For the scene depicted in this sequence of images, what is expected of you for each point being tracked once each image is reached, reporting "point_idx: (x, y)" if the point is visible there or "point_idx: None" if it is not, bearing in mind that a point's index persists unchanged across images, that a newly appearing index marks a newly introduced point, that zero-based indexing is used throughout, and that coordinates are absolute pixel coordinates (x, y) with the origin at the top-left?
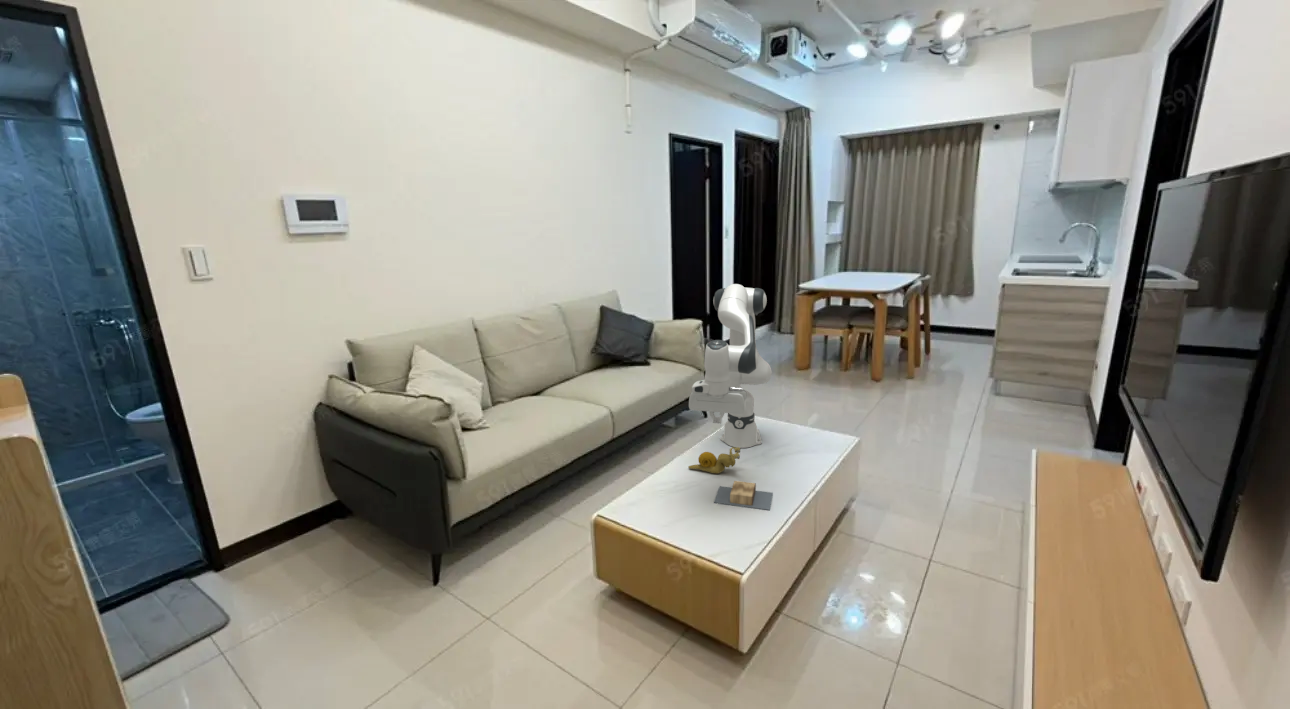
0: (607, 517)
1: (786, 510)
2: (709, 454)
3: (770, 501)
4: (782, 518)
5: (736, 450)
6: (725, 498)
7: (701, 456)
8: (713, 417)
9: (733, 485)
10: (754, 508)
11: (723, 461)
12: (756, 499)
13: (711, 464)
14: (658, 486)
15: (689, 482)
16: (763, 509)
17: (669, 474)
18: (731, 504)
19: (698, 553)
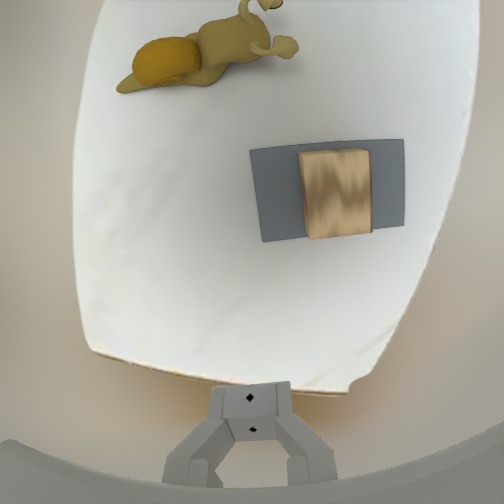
0: (97, 352)
1: (434, 210)
2: (167, 62)
3: (403, 187)
4: (426, 245)
5: (268, 6)
6: (287, 213)
7: (142, 78)
8: (226, 453)
9: (307, 187)
10: None
11: (230, 62)
12: None
13: (187, 72)
14: (96, 220)
15: (154, 162)
16: (389, 226)
17: (88, 148)
18: None
19: None
